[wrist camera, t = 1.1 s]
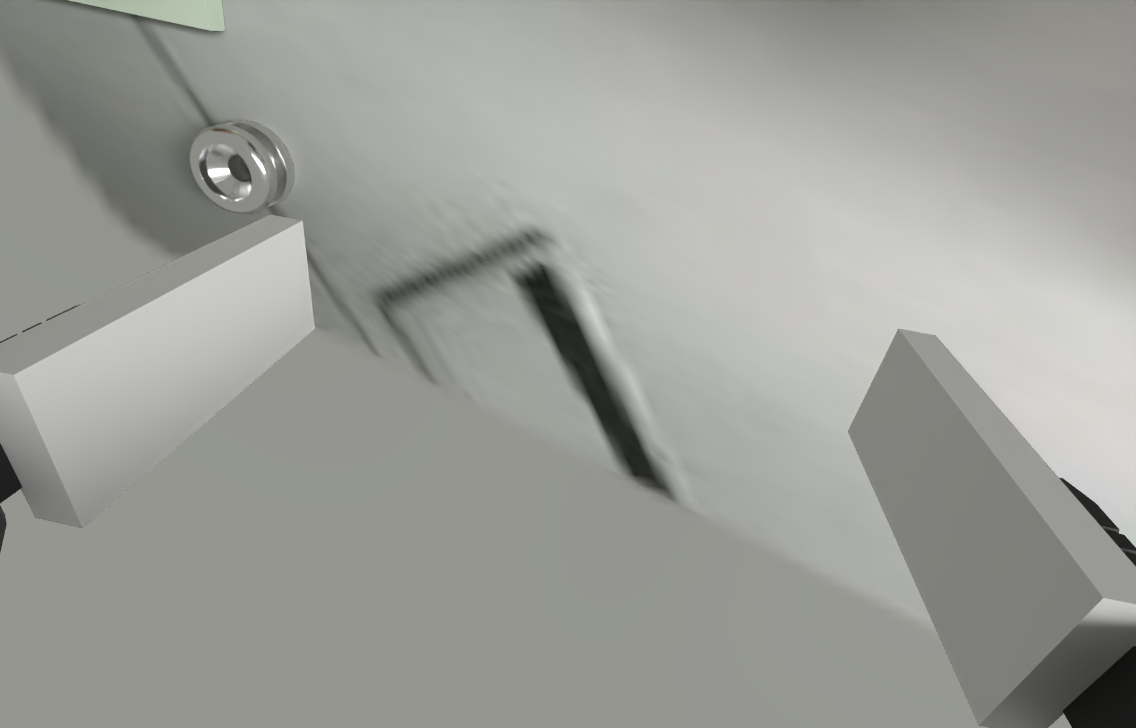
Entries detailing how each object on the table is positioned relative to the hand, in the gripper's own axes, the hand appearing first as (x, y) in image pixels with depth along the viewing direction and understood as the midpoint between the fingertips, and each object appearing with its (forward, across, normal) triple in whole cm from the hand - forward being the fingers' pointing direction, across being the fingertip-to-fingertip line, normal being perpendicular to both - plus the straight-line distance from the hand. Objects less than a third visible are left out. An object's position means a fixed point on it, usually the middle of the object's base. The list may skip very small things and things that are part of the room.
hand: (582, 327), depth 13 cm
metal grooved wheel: (+22, -23, -4) cm, 32 cm away
